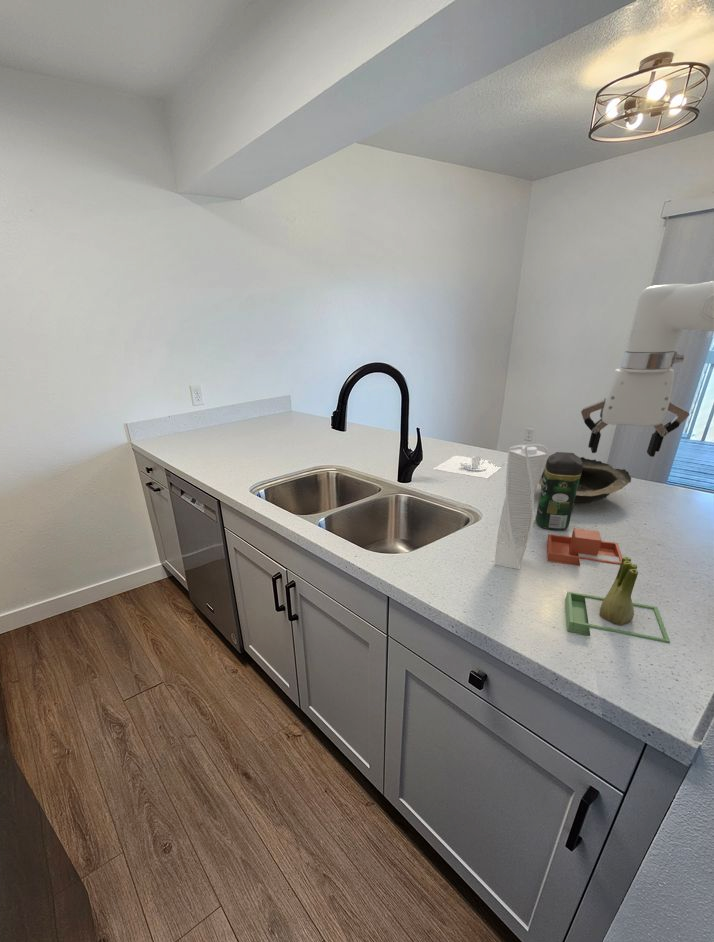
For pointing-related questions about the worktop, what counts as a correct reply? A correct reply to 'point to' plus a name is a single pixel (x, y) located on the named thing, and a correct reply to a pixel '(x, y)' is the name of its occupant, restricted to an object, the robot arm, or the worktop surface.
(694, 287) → the robot arm
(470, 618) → the worktop surface
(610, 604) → the fennel bulb
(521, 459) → the skyscraper
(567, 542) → the terracotta tray
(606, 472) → the stone bowl
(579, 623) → the green rectangular frame
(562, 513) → the coffee jar
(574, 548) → the terracotta block
